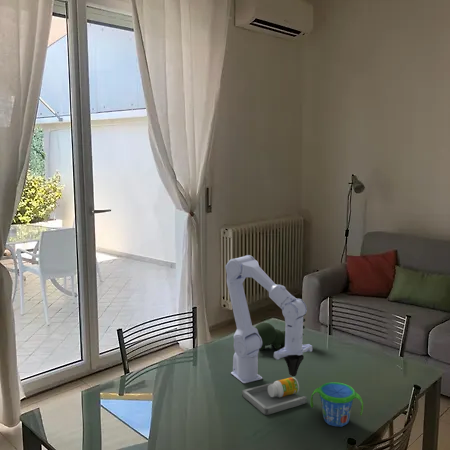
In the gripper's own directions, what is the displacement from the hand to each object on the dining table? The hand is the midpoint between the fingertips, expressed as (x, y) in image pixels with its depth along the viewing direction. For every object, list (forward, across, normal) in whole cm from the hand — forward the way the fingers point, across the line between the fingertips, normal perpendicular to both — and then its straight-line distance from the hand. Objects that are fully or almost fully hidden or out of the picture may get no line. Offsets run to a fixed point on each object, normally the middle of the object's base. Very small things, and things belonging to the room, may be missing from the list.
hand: (292, 375), depth 169 cm
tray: (+7, -8, 0) cm, 10 cm away
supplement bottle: (+4, +1, 0) cm, 4 cm away
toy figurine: (+7, +19, +36) cm, 41 cm away
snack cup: (+7, +1, -20) cm, 21 cm away
